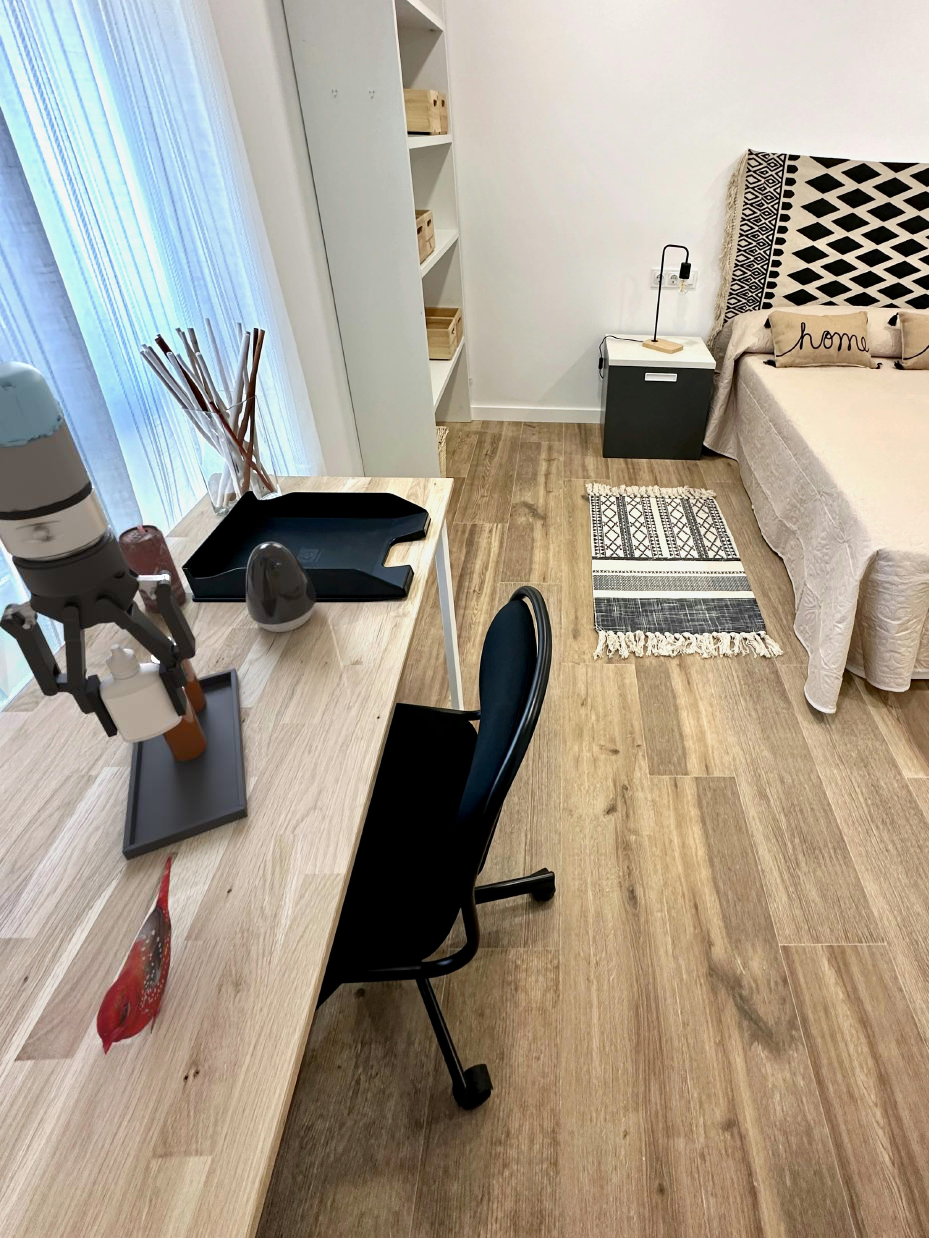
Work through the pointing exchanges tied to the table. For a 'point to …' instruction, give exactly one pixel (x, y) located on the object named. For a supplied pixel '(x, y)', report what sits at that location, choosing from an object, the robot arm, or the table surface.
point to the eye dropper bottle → (136, 697)
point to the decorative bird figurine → (140, 976)
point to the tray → (189, 777)
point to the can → (150, 559)
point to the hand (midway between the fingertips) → (148, 716)
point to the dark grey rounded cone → (278, 588)
